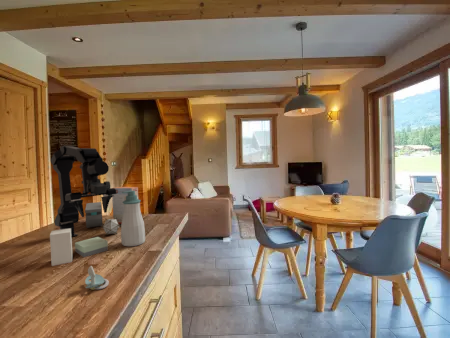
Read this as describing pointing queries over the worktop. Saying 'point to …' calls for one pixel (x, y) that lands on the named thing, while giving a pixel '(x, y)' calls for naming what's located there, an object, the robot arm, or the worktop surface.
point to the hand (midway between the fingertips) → (94, 214)
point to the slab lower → (91, 251)
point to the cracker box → (121, 201)
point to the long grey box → (93, 214)
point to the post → (61, 246)
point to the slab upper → (91, 244)
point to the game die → (111, 226)
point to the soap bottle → (132, 221)
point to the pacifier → (95, 280)
